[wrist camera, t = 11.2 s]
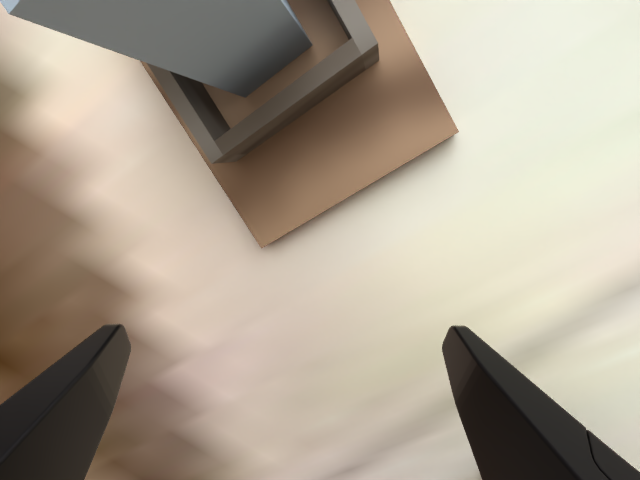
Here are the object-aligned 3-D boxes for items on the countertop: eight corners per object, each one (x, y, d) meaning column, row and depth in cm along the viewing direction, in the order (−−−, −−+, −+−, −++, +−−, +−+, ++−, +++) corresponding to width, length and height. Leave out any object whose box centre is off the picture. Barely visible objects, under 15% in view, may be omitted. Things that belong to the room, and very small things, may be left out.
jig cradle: (454, 132, 18) (473, 128, 14) (267, 243, 22) (242, 264, 18) (255, -243, 16) (212, -373, 12) (82, -45, 20) (6, -94, 16)
